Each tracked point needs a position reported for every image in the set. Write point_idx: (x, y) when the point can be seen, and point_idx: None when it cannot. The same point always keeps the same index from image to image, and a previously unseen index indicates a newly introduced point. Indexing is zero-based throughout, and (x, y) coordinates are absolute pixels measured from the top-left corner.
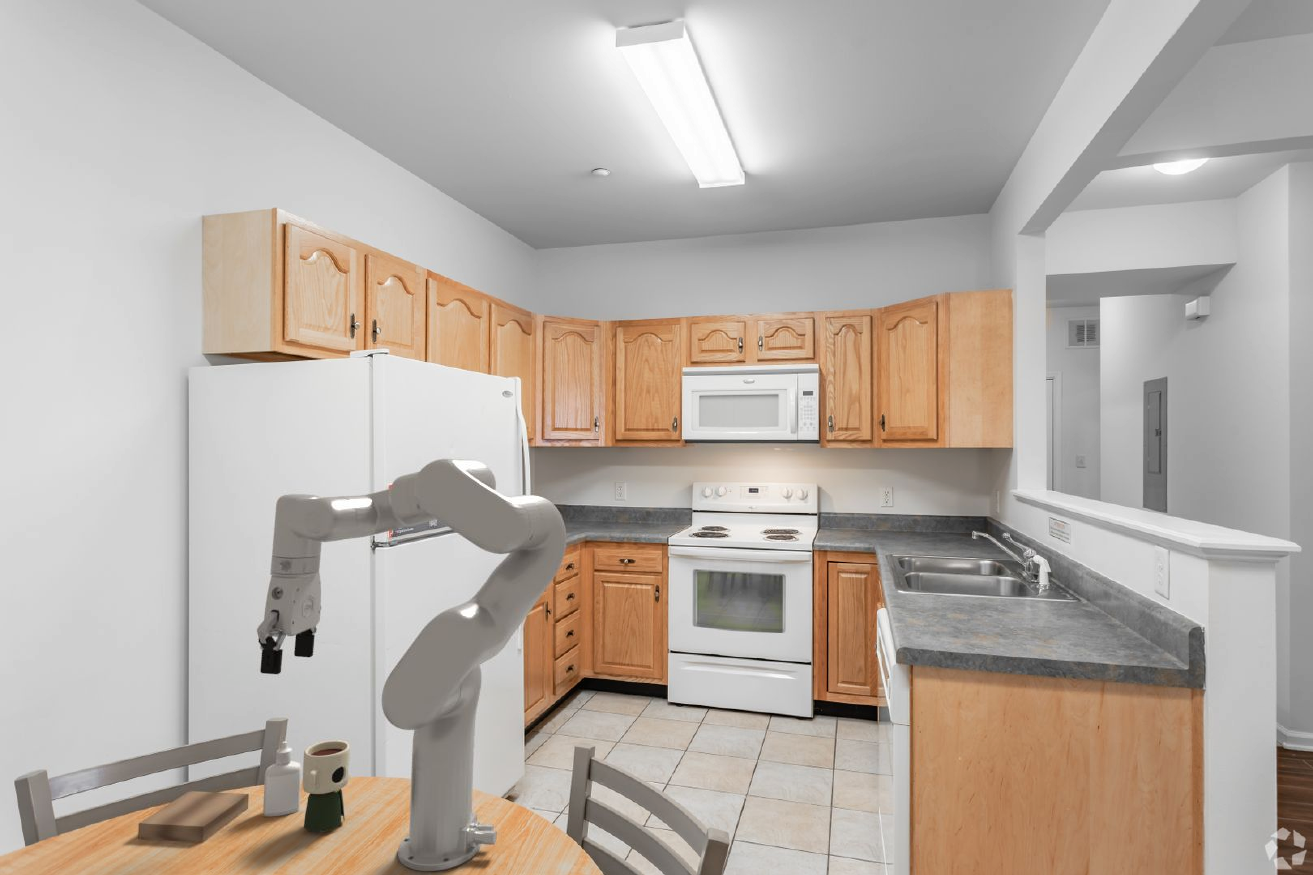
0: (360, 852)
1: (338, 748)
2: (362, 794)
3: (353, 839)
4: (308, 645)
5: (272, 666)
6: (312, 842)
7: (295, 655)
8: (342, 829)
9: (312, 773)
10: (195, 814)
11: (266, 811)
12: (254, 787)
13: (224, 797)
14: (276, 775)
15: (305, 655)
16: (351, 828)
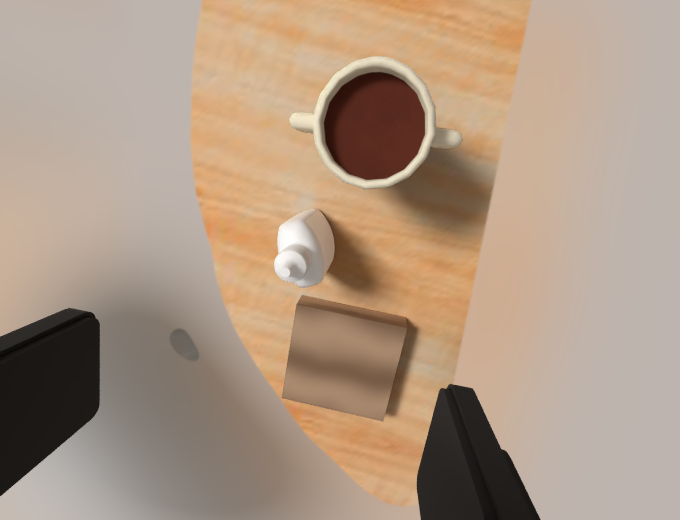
0: (484, 30)
1: (326, 112)
2: (257, 107)
3: (433, 63)
4: (24, 372)
5: (509, 459)
6: None
7: (96, 406)
8: None
9: (459, 136)
10: (363, 356)
11: (333, 256)
12: (229, 313)
13: (307, 337)
14: (323, 259)
15: (93, 349)
16: None
